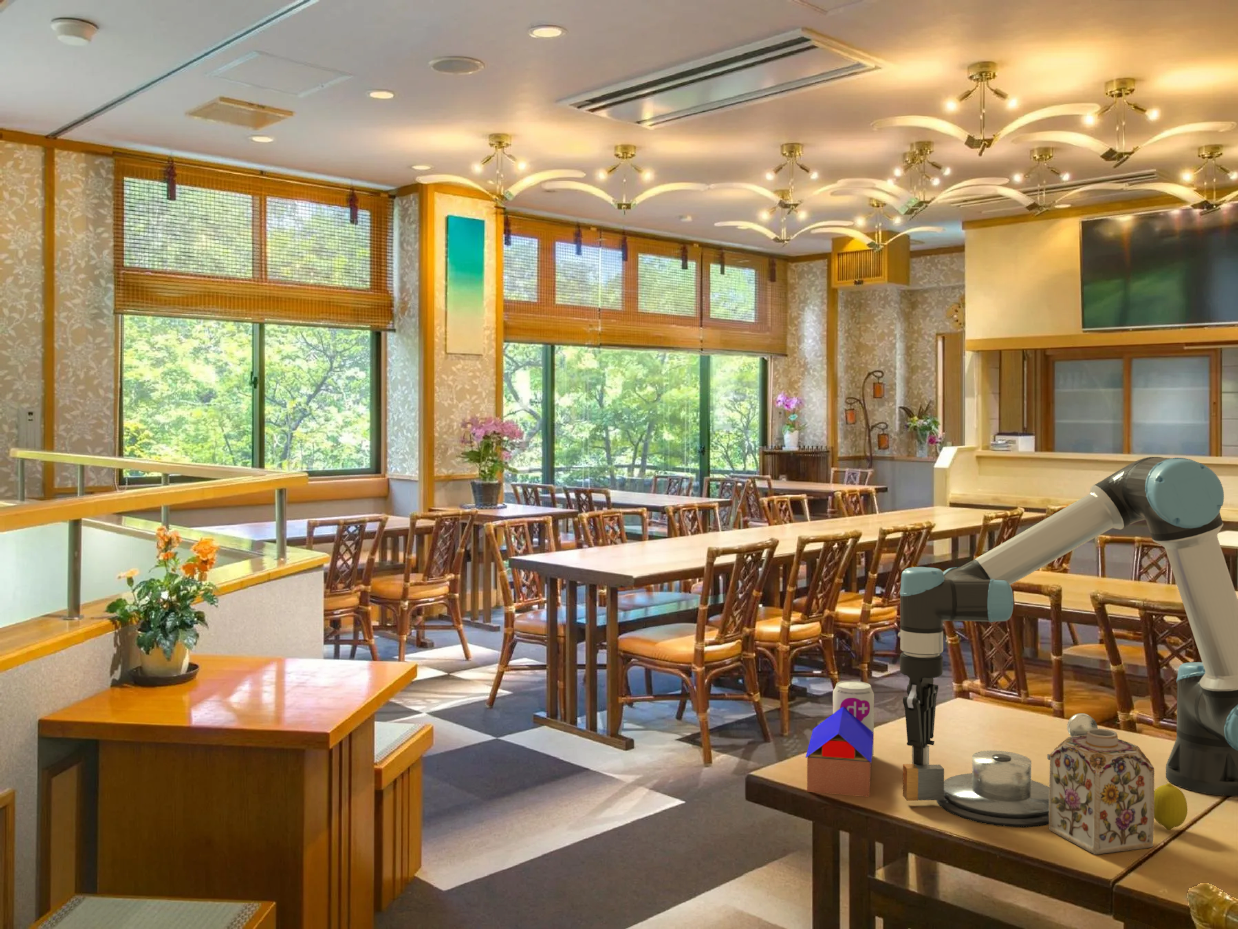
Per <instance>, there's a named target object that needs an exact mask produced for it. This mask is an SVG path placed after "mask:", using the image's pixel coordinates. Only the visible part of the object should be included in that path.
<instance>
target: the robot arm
mask: <svg viewBox="0 0 1238 929" xmlns="http://www.w3.org/2000/svg"><path fill="white" fill-rule="evenodd" d="M1224 499H1225V492H1224V487H1223V484H1222V482H1221V480H1220V478H1219V477H1218V475H1217V474H1216V472H1214V471H1213V470H1212V469H1211V468H1209V467H1208V466H1207V465H1205V464H1204V463H1201V462H1198V461H1195V460H1193V459H1190V458H1186V457H1162V456H1149V457H1143V458H1140V459H1137V460H1136V461H1132V462H1131V463H1129V464H1128V465H1125V466H1124V467H1122V468H1121V469H1118V470H1117V471H1115V472H1114V473H1111V474H1110V475H1109V476H1106V478H1104V479H1102V480H1101V481H1098V482H1097V483H1094V484H1093V485H1092V486H1090V490H1089V493H1088V494H1087V495H1085V496H1084V497H1081V498H1080V499H1078V500H1076V501H1075V502H1073V503H1071V504H1069V505H1067V506H1065V507H1064V508H1062V509H1061V510H1059V511H1057V512H1055V513H1054V514H1051V515H1050V516H1048V517H1046V518H1044V519H1043V520H1041V521H1038V523H1035V524H1034V525H1032V526H1031V527H1029V528H1027V529H1026V530H1023V531H1022V532H1020V533H1018V534H1017V535H1015V536H1013V537H1011V538H1009V539H1007V540H1006V541H1004V542H1002V543H1000V544H999V545H997V546H995V547H994V548H991V549H990V550H988V551H987V552H985V553H983V554H982V555H980V556H978V557H976V558H975V559H973V560H971V561H969V562H967V563H965V564H964V565H961V566H959V567H957V566H956V567H949V568H947V569H946V570H942V569H940V568H937V567H925V566H913V567H907V568H905V569H904V570H903V571H902V572H901V576H900V577H901V578H900V591H899V597H900V598H899V601H900V604H899V605H900V606H899V608H900V610H899V611H900V622H899V624H900V630H899V632H898V633H897V637H898V638H899V639H900V641H899V642H900V645H899V646H900V647H899V648H900V651H902V652H901V653H900V655H899V671H900V673H901V674H902V675H904V676H906V677H908V678H909V681H908V684H907V686H906V687H907V688H906V693H907V696H906V695H905V696H903V697H902V703H903V708H904V714H905V716H904V717H905V725H906V727H905V728H906V739H907V742H906V745H907V746H910V747H911V764H914V765H930V746H935V740H931V739H933V738H934V734H935V733H934V731H935V720H936V706H937V696H938V693H939V692H938V691H939V684H934V681H935V680H934V679H935V678H939V677H942V675H943V673H944V671H943V670H944V669H943V667H944V666H943V664H944V662H943V661H944V660H943V659H944V658H943V656H942V653H943V651H944V622H986V623H987V622H989V623H993V622H1006V621H1009V620H1010V619H1011V617H1012V614H1013V611H1014V594H1013V588H1012V587H1011V585H1013V584H1015V583H1016V582H1018V581H1020V580H1022V579H1024V578H1026V577H1027V576H1029V575H1031V574H1033V573H1034V572H1036V571H1038V570H1040V569H1041V568H1043V567H1045V566H1047V565H1049V564H1051V563H1053V562H1054V561H1055V560H1057V559H1059V558H1062V557H1063V556H1065V555H1067V554H1068V553H1070V552H1072V551H1074V550H1076V549H1078V548H1079V547H1081V546H1082V545H1083V546H1084V544H1086V543H1088V542H1090V541H1092V540H1093V539H1095V538H1098V536H1100V535H1102V534H1105V533H1106V532H1108V531H1109V530H1112V529H1116V530H1122V529H1125V528H1126V527H1128V526H1130V525H1132V524H1134V523H1137V522H1140V521H1146V525H1147V528H1148V531H1149V534H1150V536H1151V539H1152V542H1153V543H1156V544H1158V545H1160V546H1162V548H1164V549H1165V552H1166V555H1167V559H1168V562H1169V565H1170V568H1171V571H1172V574H1173V578H1174V579H1175V583H1176V586H1177V589H1178V592H1179V595H1180V598H1181V602H1182V605H1183V607H1184V610H1185V611H1184V612H1185V613H1186V617H1187V620H1188V623H1189V626H1190V628H1191V632H1192V635H1193V639H1194V641H1195V644H1196V647H1197V649H1198V653H1199V654H1198V655H1199V656H1200V659H1201V662H1200V661H1197V662H1194V661H1193V662H1192V661H1191V662H1183V663H1182V664H1180V665H1179V667H1178V668H1177V678H1176V738H1175V741H1174V744H1173V746H1172V749H1171V752H1170V755H1169V757H1168V759H1167V762H1166V764H1165V778H1166V779H1165V780H1167V782H1169V783H1171V784H1172V785H1174V786H1176V787H1180V788H1183V789H1185V790H1190V791H1193V792H1196V793H1197V792H1198V793H1201V794H1202V793H1203V794H1207V795H1216V796H1224V797H1225V796H1229V797H1230V796H1231V797H1232V796H1233V797H1234V796H1235V797H1237V796H1238V597H1237V596H1238V595H1237V593H1236V590H1235V587H1234V583H1233V581H1232V577H1231V574H1230V571H1229V569H1228V565H1227V563H1226V558H1225V556H1224V553H1223V550H1222V547H1221V544H1220V541H1219V538H1218V534H1219V533H1220V531H1221V530H1222V527H1223V526H1224V522H1223V519H1222V518H1223V517H1222V515H1221V513H1220V512H1221V508H1222V507H1223V505H1224V501H1225V500H1224Z"/></svg>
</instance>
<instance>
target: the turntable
mask: <svg viewBox="0 0 1238 929" xmlns="http://www.w3.org/2000/svg"><path fill="white" fill-rule="evenodd" d="M902 797H903V798H904V799H905V800H906V801H908V802H909V801H915V802H916V801H936V800H944V798H945V799H946V800H947V801H949V802H950V803H952V804H954V805H956V806H958V807H961V808H963V809H966V810H970V811H973V812H977V813H981V814H986V815H992V816H1000V817H1012V818H1027V817H1038V816H1043V815H1047V814H1049V785H1046V784H1044V783H1042V782H1039V781H1036V780H1032V779H1031V797H1030V798H1029V799H1026V800H1023V801H1014V802H1008V801H997V800H992V799H988V798H984V797H981V796H979V795H977V794H975V793H974V792H973V791H972V773H971V772H969V773H962V774H957V775H952V776H951V777H948V778H946V779H945V767H943V766H942V765H941V764H929V765H914V764H912V763H903V764H902Z"/></svg>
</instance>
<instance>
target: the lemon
mask: <svg viewBox="0 0 1238 929" xmlns="http://www.w3.org/2000/svg"><path fill="white" fill-rule="evenodd" d="M1187 815H1188V802H1187V799H1186V797H1185V794H1184V793H1183V791H1182V790H1181V789H1179V788H1178V786H1176V785H1174V784H1173V783H1171V782H1166V784H1162V785H1160V786H1157V788H1155V789H1154V821H1156V822H1157V823H1158V824H1160V825H1161V826H1163V828H1165V830H1167V831H1172V830H1173V829H1174V828H1177V827H1179V826H1182V824H1183V823H1184V822H1185V821H1186V819H1187Z"/></svg>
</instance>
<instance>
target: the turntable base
mask: <svg viewBox="0 0 1238 929" xmlns="http://www.w3.org/2000/svg"><path fill="white" fill-rule="evenodd" d="M935 801H936V804H937V805H938V806H939V807H940V808H941V809H943V810H944V811H946V812H948V813H949V814H952V815H954V816H956V817H959V818H961V819H964V820H967V821H971V822H975V823H979V824H985V825H988V826H989V825H991V826H997V827H1004V828H1038V827H1044V826H1049V814H1047V815H1043V816H1038V817H1027V818H1012V817H1000V816H992V815H986V814H981V813H977V812H973V811H970V810H966V809H963V808H961V807H958V806H956V805H954V804H952V803H950V802H949V801H947V800H946V799H945V798H944V800H935Z"/></svg>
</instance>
